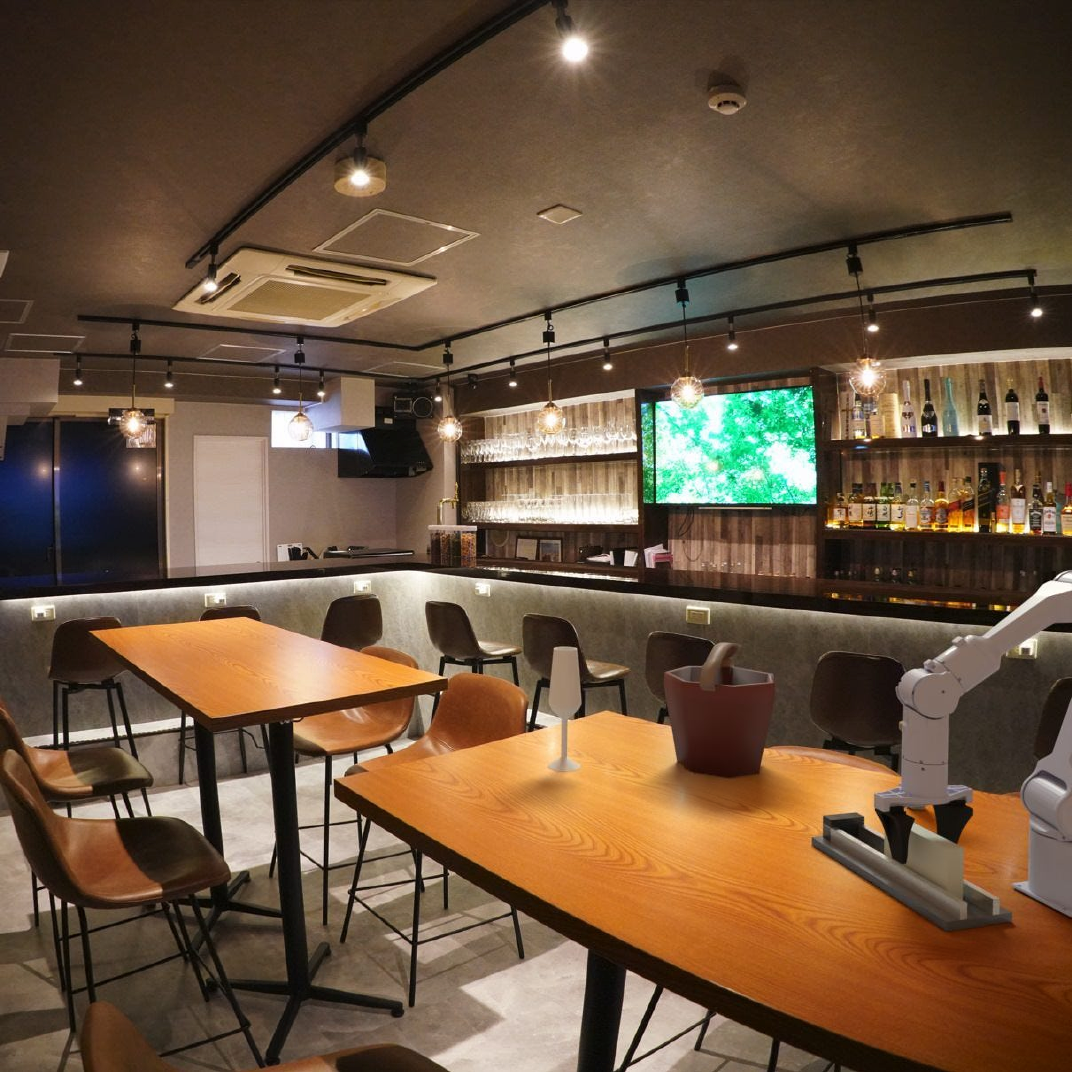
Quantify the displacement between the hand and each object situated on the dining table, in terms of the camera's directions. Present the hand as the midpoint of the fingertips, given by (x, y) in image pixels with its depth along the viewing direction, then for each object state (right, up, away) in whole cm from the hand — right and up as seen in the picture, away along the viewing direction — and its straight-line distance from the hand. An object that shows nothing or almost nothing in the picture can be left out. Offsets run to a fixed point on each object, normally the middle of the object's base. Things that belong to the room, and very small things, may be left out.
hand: (922, 858), depth 113 cm
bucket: (-14, -4, +57) cm, 59 cm away
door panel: (0, -3, 0) cm, 3 cm away
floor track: (-1, -5, +4) cm, 6 cm away
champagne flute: (-47, -3, +55) cm, 73 cm away
